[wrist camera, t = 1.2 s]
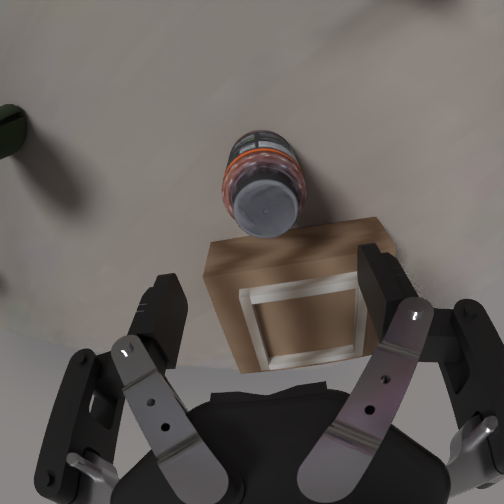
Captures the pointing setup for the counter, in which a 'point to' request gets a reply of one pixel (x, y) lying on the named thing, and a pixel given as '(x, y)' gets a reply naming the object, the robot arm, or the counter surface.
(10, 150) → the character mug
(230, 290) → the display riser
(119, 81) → the counter surface
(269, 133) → the supplement bottle
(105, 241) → the counter surface
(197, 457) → the robot arm
